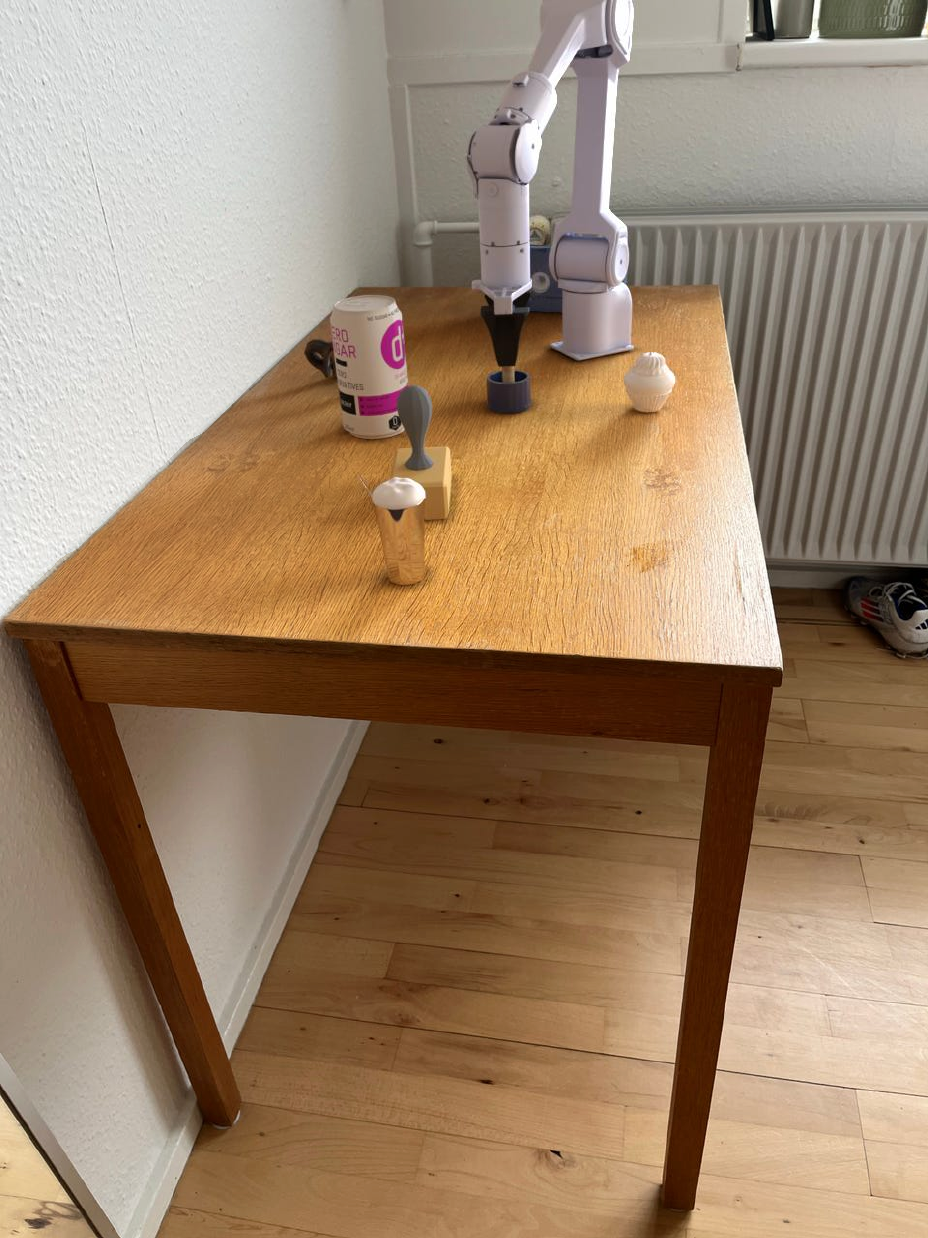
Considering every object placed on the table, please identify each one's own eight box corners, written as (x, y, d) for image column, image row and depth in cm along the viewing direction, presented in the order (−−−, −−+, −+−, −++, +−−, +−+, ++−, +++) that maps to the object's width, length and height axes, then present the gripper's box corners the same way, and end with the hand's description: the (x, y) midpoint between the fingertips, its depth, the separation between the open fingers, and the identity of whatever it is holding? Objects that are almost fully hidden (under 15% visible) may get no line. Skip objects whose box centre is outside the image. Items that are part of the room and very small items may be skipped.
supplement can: (422, 419, 118) (412, 295, 110) (390, 444, 111) (377, 314, 103) (365, 412, 121) (352, 291, 113) (331, 436, 115) (314, 310, 106)
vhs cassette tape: (626, 310, 154) (629, 245, 148) (622, 315, 151) (624, 250, 146) (518, 305, 160) (517, 242, 154) (512, 310, 157) (511, 246, 152)
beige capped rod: (513, 397, 121) (511, 334, 117) (523, 403, 119) (521, 339, 115) (495, 401, 121) (492, 337, 116) (504, 407, 119) (502, 343, 114)
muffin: (679, 402, 118) (684, 346, 114) (664, 419, 114) (667, 362, 110) (632, 396, 121) (634, 341, 117) (614, 413, 116) (617, 356, 112)
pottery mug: (391, 369, 136) (398, 326, 129) (383, 419, 131) (391, 377, 124) (306, 353, 134) (310, 308, 127) (296, 403, 130) (299, 359, 123)
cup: (518, 395, 123) (517, 366, 121) (538, 408, 119) (538, 378, 117) (480, 403, 121) (479, 374, 119) (499, 416, 117) (498, 386, 115)
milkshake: (371, 566, 87) (360, 465, 82) (430, 561, 87) (422, 460, 82) (372, 592, 83) (359, 488, 78) (433, 587, 84) (424, 482, 78)
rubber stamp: (398, 479, 103) (388, 370, 97) (451, 477, 103) (444, 368, 96) (390, 521, 95) (378, 405, 88) (448, 518, 95) (440, 402, 88)
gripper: (474, 229, 116) (479, 341, 123) (464, 256, 104) (470, 378, 111) (532, 227, 115) (534, 339, 123) (529, 254, 103) (531, 377, 111)
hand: (507, 358), depth 117 cm, fingers open, 5 cm apart
